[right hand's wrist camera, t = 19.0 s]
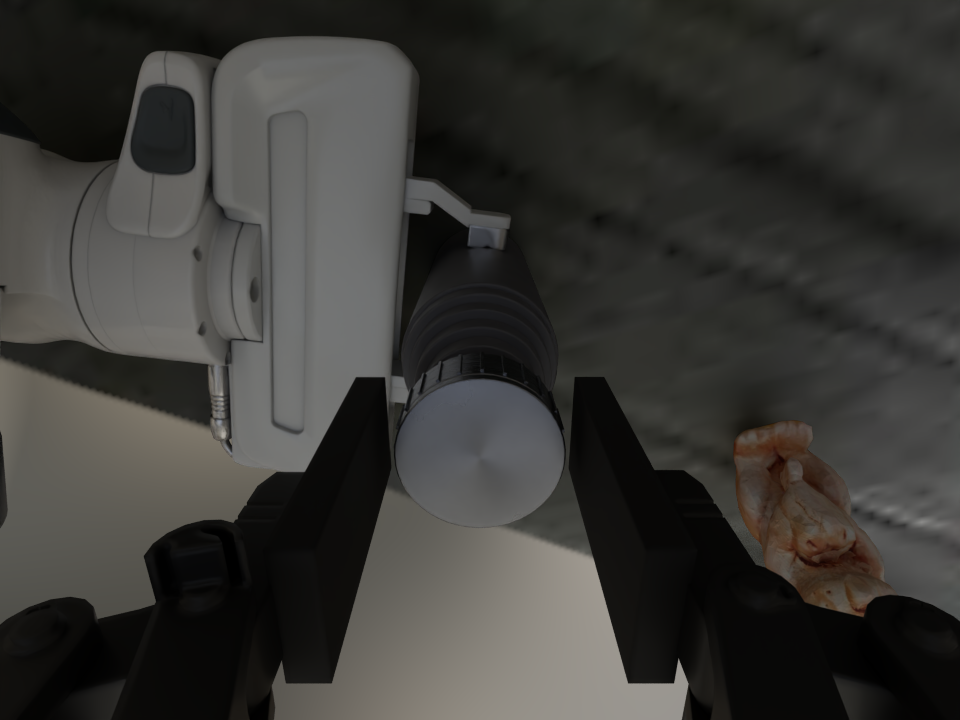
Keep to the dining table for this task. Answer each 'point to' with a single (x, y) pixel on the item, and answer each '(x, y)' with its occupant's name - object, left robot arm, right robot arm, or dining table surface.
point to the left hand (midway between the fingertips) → (498, 303)
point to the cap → (479, 441)
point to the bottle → (479, 312)
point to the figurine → (805, 519)
